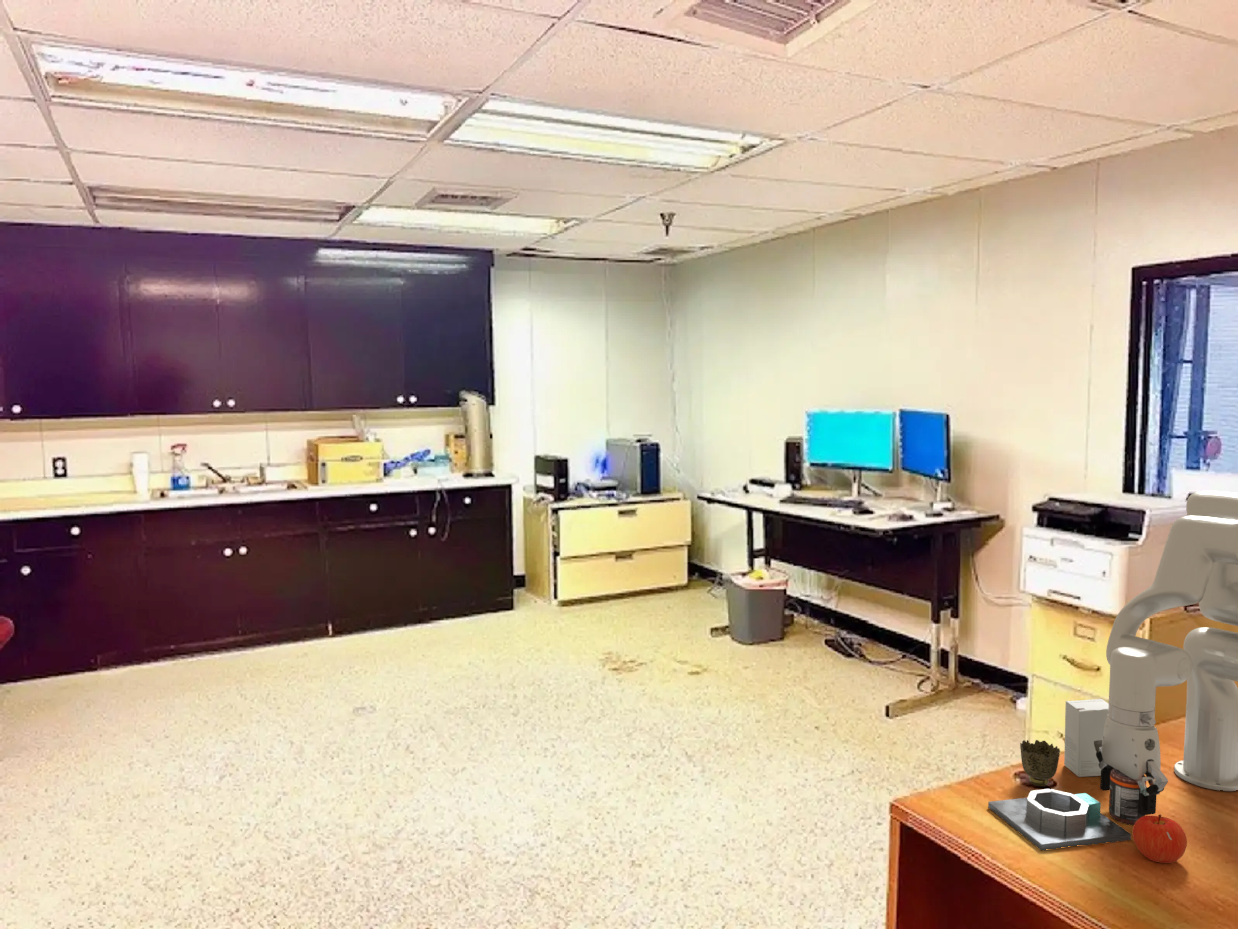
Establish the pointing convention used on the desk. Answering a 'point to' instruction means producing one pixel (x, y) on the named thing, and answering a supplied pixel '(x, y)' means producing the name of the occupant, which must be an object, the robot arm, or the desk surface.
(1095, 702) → the skincare box
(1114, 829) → the hub plate
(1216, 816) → the desk surface
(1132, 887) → the desk surface
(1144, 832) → the apple
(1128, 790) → the supplement bottle
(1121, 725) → the robot arm
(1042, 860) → the desk surface
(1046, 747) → the cup
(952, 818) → the desk surface
